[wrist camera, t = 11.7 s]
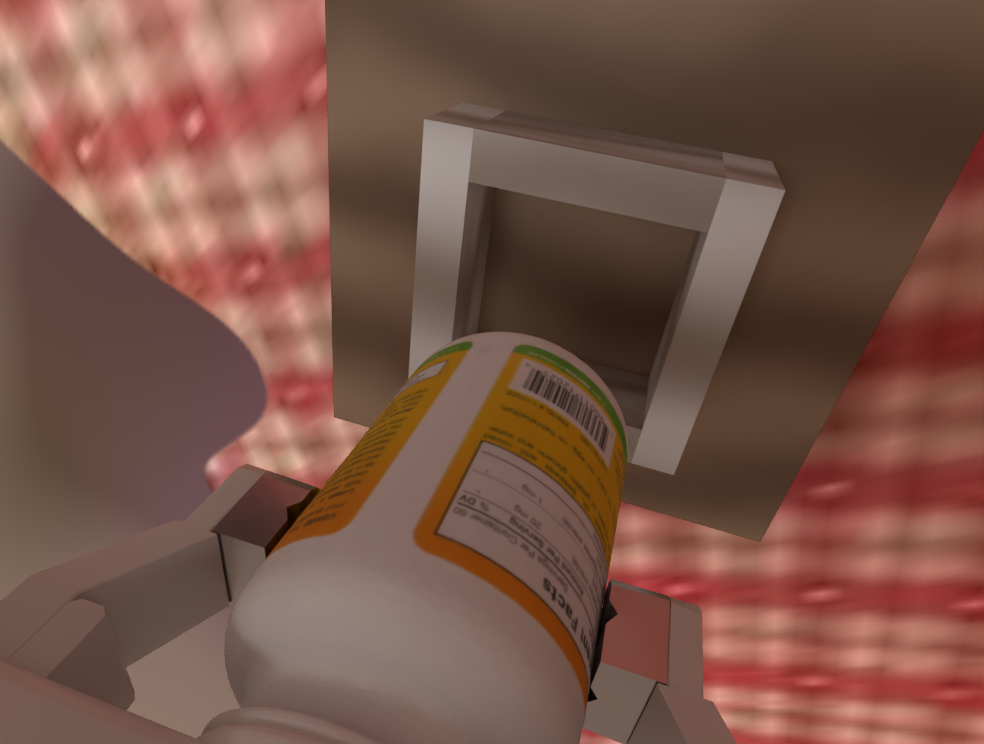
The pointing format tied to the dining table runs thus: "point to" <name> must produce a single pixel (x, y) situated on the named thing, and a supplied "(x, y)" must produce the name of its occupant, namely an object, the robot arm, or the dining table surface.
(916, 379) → the dining table surface
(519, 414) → the supplement bottle
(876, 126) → the socket plate
